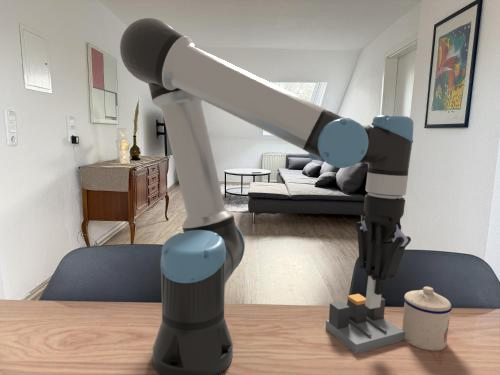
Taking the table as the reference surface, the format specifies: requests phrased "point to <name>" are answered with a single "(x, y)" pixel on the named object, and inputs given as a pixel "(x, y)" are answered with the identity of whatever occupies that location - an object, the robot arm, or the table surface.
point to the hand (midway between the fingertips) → (372, 306)
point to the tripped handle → (357, 308)
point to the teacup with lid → (426, 319)
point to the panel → (362, 328)
